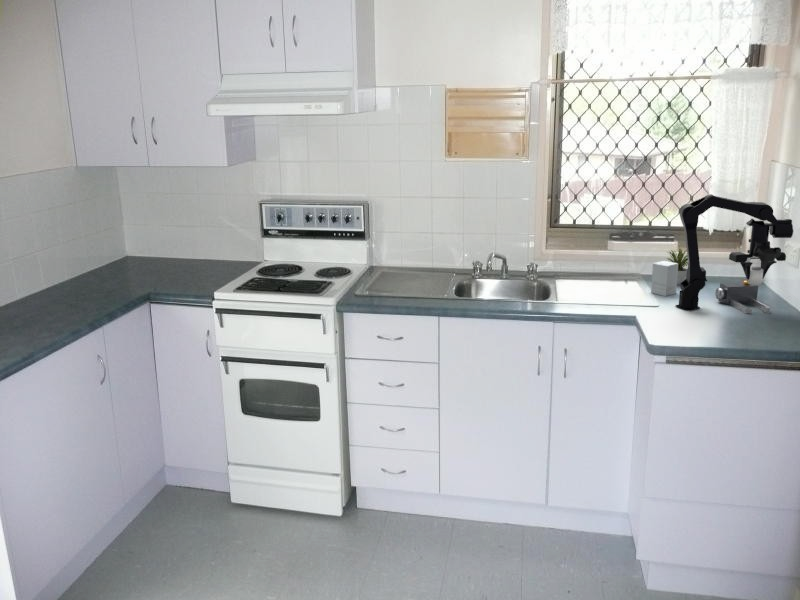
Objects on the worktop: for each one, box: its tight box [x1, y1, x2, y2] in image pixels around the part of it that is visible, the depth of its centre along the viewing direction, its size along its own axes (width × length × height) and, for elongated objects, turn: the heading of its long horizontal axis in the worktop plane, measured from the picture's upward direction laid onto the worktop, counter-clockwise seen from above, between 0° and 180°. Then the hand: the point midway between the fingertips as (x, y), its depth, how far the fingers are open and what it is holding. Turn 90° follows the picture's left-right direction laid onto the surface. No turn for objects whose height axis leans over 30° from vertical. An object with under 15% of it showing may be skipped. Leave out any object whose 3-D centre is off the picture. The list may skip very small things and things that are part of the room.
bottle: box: [746, 265, 764, 286], centre depth 264 cm, size 5×5×6 cm
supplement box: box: [650, 260, 678, 297], centre depth 291 cm, size 7×7×13 cm
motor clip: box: [714, 280, 771, 315], centre depth 271 cm, size 14×18×8 cm
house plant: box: [666, 246, 688, 286], centre depth 303 cm, size 14×14×16 cm
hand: (754, 279), depth 265 cm, fingers closed on bottle, 5 cm apart
